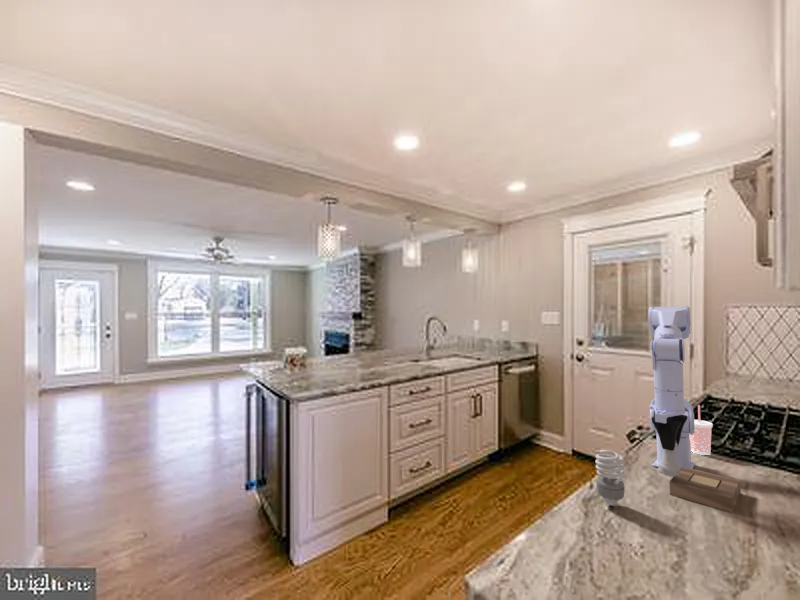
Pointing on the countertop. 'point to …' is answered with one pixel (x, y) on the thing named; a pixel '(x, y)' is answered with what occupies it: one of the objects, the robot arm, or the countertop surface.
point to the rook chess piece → (669, 463)
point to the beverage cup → (701, 436)
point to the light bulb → (610, 476)
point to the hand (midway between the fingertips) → (670, 447)
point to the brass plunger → (705, 481)
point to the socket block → (706, 489)
